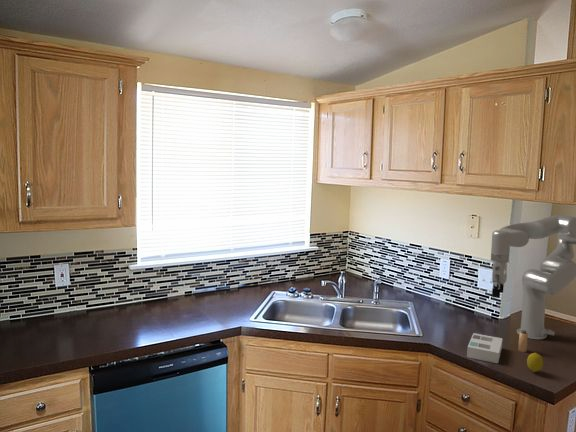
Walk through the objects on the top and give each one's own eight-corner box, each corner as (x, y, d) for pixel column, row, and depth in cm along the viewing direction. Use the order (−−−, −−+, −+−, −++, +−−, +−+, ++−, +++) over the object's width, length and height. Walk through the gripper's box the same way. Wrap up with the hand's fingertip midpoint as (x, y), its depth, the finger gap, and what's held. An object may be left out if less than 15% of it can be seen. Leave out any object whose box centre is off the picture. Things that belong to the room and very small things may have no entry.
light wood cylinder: (526, 350, 200) (528, 330, 198) (526, 352, 197) (527, 332, 196) (518, 348, 201) (519, 328, 200) (518, 351, 198) (519, 331, 197)
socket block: (501, 348, 201) (502, 338, 200) (498, 363, 185) (498, 352, 185) (472, 342, 207) (473, 332, 206) (466, 357, 191) (467, 346, 191)
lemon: (523, 368, 181) (525, 349, 180) (538, 369, 181) (540, 350, 180) (529, 375, 176) (531, 355, 175) (544, 375, 175) (546, 356, 174)
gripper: (506, 262, 196) (503, 300, 198) (511, 255, 211) (509, 291, 213) (487, 260, 200) (485, 298, 202) (494, 253, 215) (492, 288, 217)
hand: (497, 294), depth 208 cm, fingers open, 9 cm apart
